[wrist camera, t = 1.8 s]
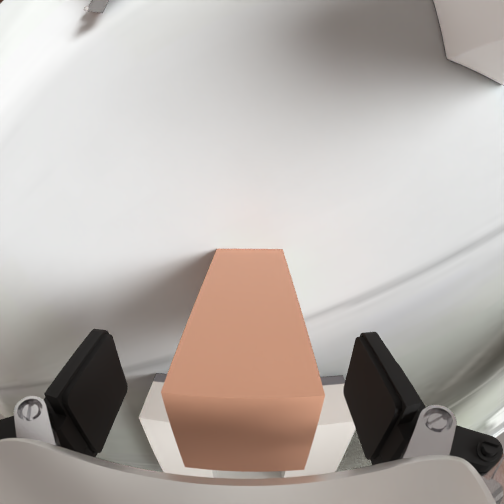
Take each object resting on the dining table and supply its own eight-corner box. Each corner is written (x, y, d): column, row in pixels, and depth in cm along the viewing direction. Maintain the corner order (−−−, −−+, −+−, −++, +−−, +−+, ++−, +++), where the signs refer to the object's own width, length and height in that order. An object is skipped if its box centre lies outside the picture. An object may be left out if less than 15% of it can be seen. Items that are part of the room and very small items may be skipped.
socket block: (343, 375, 21) (359, 420, 16) (315, 464, 25) (320, 498, 20) (156, 373, 21) (138, 417, 16) (183, 462, 25) (177, 496, 21)
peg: (282, 249, 18) (324, 395, 6) (279, 307, 19) (304, 469, 7) (217, 248, 18) (160, 392, 6) (219, 306, 19) (185, 467, 7)
